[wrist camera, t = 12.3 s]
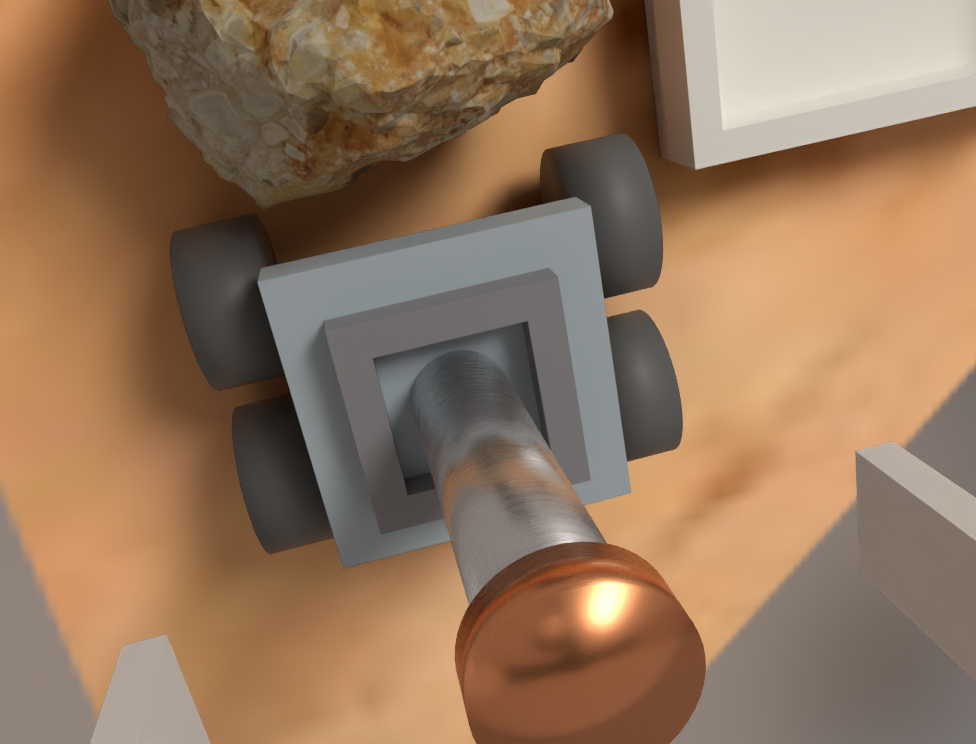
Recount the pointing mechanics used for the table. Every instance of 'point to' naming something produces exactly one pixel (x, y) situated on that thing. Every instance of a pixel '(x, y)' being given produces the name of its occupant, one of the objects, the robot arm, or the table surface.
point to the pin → (545, 582)
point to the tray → (801, 71)
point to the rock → (344, 77)
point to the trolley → (434, 349)
